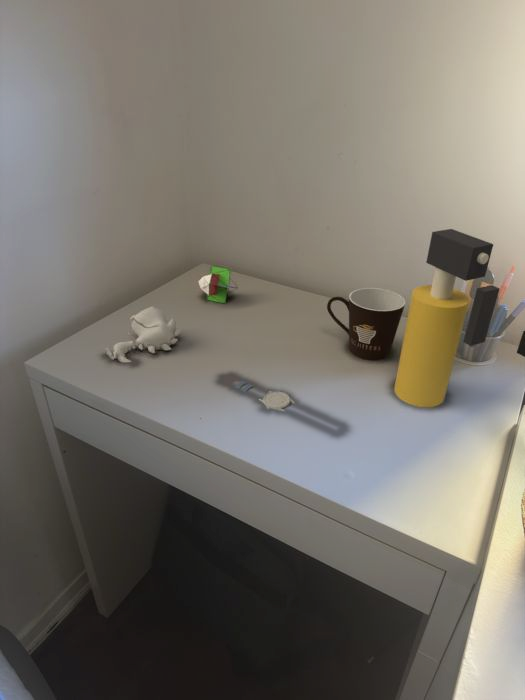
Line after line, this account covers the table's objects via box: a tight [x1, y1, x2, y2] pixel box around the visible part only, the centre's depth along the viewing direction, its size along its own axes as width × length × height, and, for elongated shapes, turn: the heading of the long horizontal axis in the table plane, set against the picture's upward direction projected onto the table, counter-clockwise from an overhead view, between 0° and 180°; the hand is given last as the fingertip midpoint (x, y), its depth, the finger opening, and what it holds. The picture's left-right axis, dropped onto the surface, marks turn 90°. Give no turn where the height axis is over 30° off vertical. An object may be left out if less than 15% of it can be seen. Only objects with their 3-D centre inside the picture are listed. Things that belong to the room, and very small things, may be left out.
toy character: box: [105, 306, 182, 363], centre depth 80 cm, size 6×9×12 cm
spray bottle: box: [393, 228, 494, 408], centre depth 65 cm, size 7×9×24 cm
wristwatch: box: [234, 380, 296, 412], centre depth 69 cm, size 4×20×1 cm, turn 53°
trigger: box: [462, 284, 501, 347], centre depth 59 cm, size 2×1×7 cm, turn 117°
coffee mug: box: [326, 287, 406, 362], centre depth 81 cm, size 12×9×10 cm
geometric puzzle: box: [197, 265, 239, 305], centre depth 98 cm, size 7×7×8 cm
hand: (524, 340), depth 54 cm, fingers closed
